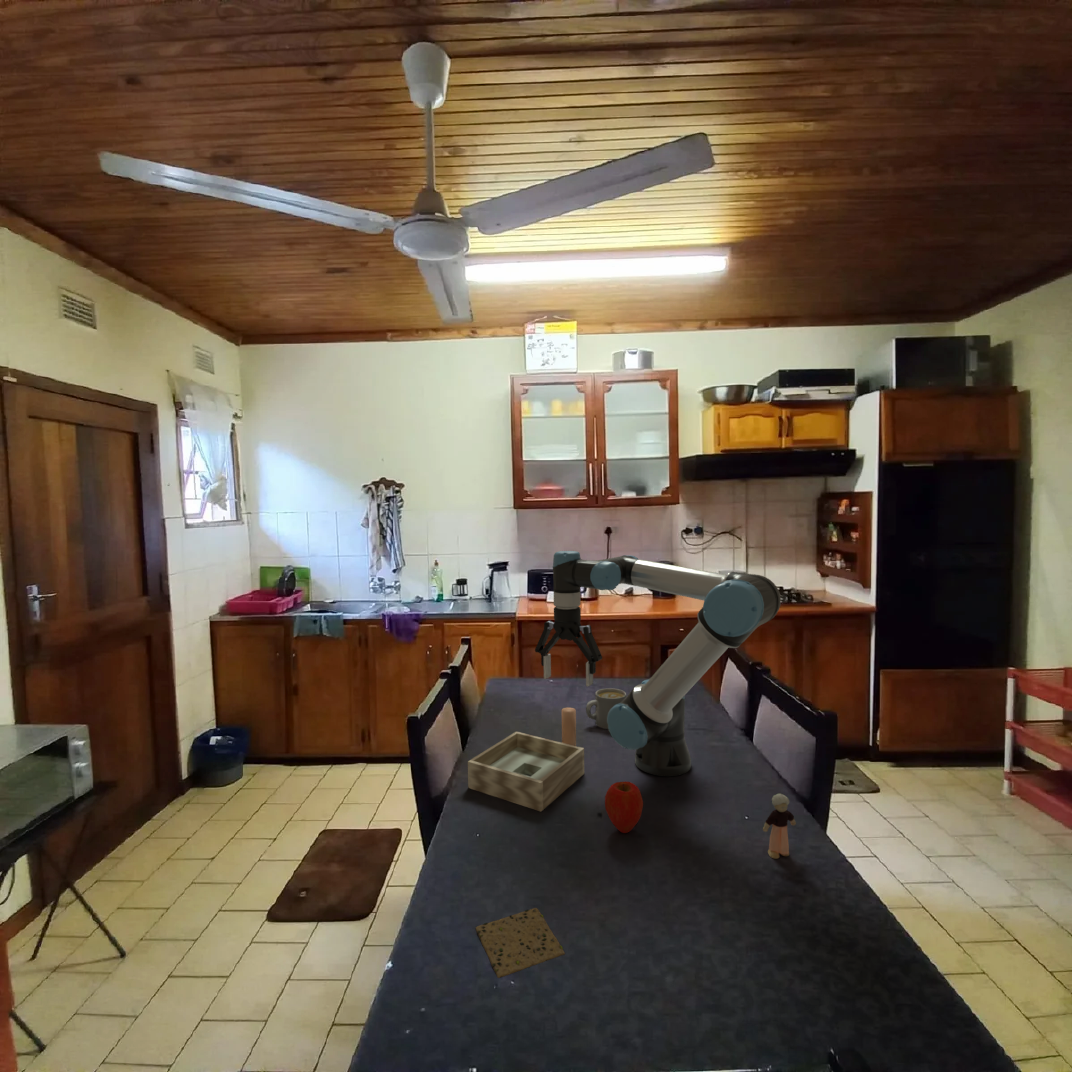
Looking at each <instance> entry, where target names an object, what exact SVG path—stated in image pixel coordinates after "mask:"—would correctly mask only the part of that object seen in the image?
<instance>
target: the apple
mask: <svg viewBox="0 0 1072 1072" xmlns="http://www.w3.org/2000/svg"><path fill="white" fill-rule="evenodd" d="M641 793H642V792H641V790H640V788H639V786H637V785H636V784H635V783H633V782H631V781H617V782H614V783H612V784H611V785H610V786H609V788H608V789H607V791H606V792H605V795H604V807H605V811H606V813H607V816H608V818H609V820H610V821H611V823H612V824H613V826H614V827H615V829H617V830H618V831H619V832H621V833H622V834H627V833H630V832H631V831H632V830H633V829H634V827H636V825H637V823H639V821H640V819H641V816H642V812H643V807H644V801H643V796H642V794H641Z"/></svg>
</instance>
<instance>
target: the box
mask: <svg viewBox="0 0 1072 1072" xmlns="http://www.w3.org/2000/svg"><path fill="white" fill-rule="evenodd" d="M583 775H585V748H584V747H581V746H577V745H576V746H573V745H569V744H565V743H562V741H556V740H552V739H548V738H544V737H540V736H537V735H532V734H528V733H524V732H520V731H514V732H513V733H511V734H510V735H508V736H506V737H505V738H503V739H502V740H499V742H497V743H495V744H494V745H492V746H490V747H489V748H487V749H485V750H484V751H483V752H481V753H479V754H477V755H476V756H474V757H472V758H471V759H470V760H468V761H467V779H468V780H467V784H468V789H471V790H474V791H476V792H478V793H479V792H480V793H481V794H482V793H483V794H486V795H489V796H491V797H495V798H497V799H501V800H504V801H507V802H510V803H513V804H517V805H520V806H523V807H525V808H528V809H532V810H535V811H538V812H542V811H544V809H545V810H546V808H547V807H548V806H549V805H551V804H552V803H553V802H554V801H555V800H556V799H558V798H559V796H561V795H562V794H563V793H564V792H566V790H568V788H570V787H571V786H572V785H573V784H575V783H576V782H577V781H578V780H579V779H580V778H581V777H582V776H583Z"/></svg>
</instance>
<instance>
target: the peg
mask: <svg viewBox="0 0 1072 1072" xmlns="http://www.w3.org/2000/svg"><path fill="white" fill-rule="evenodd" d="M561 743H565V744H569V745H573V746H577V711H576V708H574V707H563V708H562V709H561Z"/></svg>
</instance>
